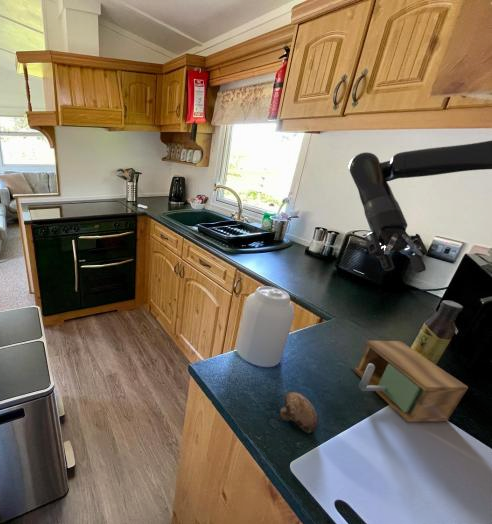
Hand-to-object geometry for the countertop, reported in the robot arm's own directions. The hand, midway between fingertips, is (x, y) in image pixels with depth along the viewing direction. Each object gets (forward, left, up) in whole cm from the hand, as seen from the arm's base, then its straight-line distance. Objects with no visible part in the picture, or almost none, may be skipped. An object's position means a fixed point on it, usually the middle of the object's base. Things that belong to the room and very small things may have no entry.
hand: (405, 270), depth 73 cm
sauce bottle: (-15, -9, -29) cm, 34 cm away
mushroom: (+19, +33, -29) cm, 48 cm away
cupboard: (-4, +11, -29) cm, 31 cm away
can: (+29, +13, -29) cm, 43 cm away
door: (+1, +17, -27) cm, 32 cm away
